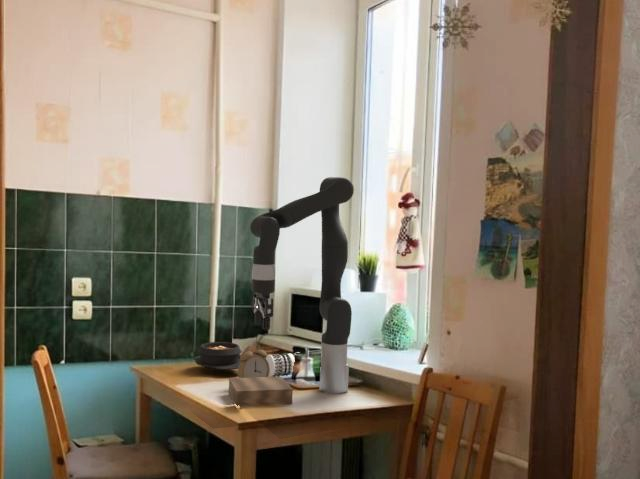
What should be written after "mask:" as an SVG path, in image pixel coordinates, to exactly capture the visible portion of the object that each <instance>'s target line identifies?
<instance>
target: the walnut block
mask: <svg viewBox="0 0 640 479" xmlns="http://www.w3.org/2000/svg"><path fill="white" fill-rule="evenodd" d="M293 390H294V388H292V386H290V385H289V383H288V382H287V381H286V380H285V379H284V378H283V376H279V377H277V376H276V377H269V376H268V377H252V378H239V377H228V395H229V397H230V398H231V400H232V402H233V401H234V402H233V404H236V405H237V406H238V405H240V407H242V406H243V405H244V406H245V405H247V406H271V405H272V406H274V405H273V404H279V405H293V395H294V394H293V393H294V392H293ZM241 405H242V406H241ZM244 406H243V407H244Z"/></svg>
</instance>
